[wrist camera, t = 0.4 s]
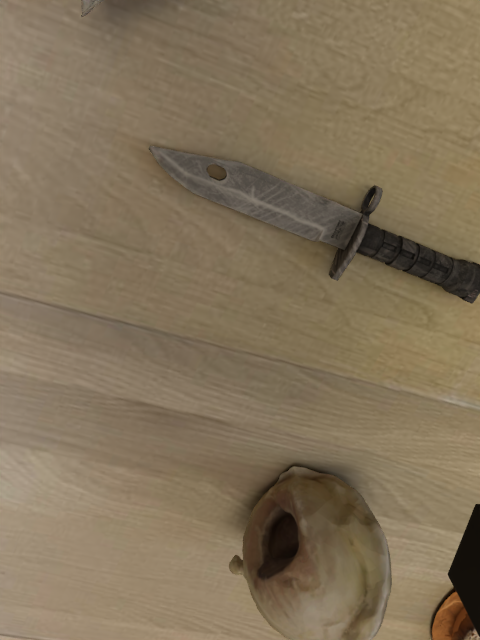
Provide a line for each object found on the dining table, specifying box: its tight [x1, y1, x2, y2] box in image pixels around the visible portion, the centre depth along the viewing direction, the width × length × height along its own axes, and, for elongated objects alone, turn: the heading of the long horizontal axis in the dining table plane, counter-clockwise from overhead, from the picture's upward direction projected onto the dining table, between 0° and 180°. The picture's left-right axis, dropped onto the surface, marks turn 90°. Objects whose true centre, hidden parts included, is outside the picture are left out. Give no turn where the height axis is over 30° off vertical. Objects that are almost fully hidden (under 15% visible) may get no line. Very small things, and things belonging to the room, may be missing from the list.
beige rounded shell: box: [229, 466, 392, 640], centre depth 27 cm, size 9×8×10 cm
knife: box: [149, 146, 480, 303], centre depth 22 cm, size 19×2×5 cm
